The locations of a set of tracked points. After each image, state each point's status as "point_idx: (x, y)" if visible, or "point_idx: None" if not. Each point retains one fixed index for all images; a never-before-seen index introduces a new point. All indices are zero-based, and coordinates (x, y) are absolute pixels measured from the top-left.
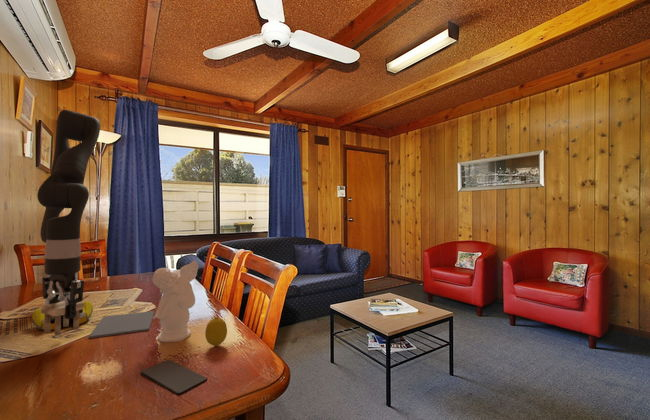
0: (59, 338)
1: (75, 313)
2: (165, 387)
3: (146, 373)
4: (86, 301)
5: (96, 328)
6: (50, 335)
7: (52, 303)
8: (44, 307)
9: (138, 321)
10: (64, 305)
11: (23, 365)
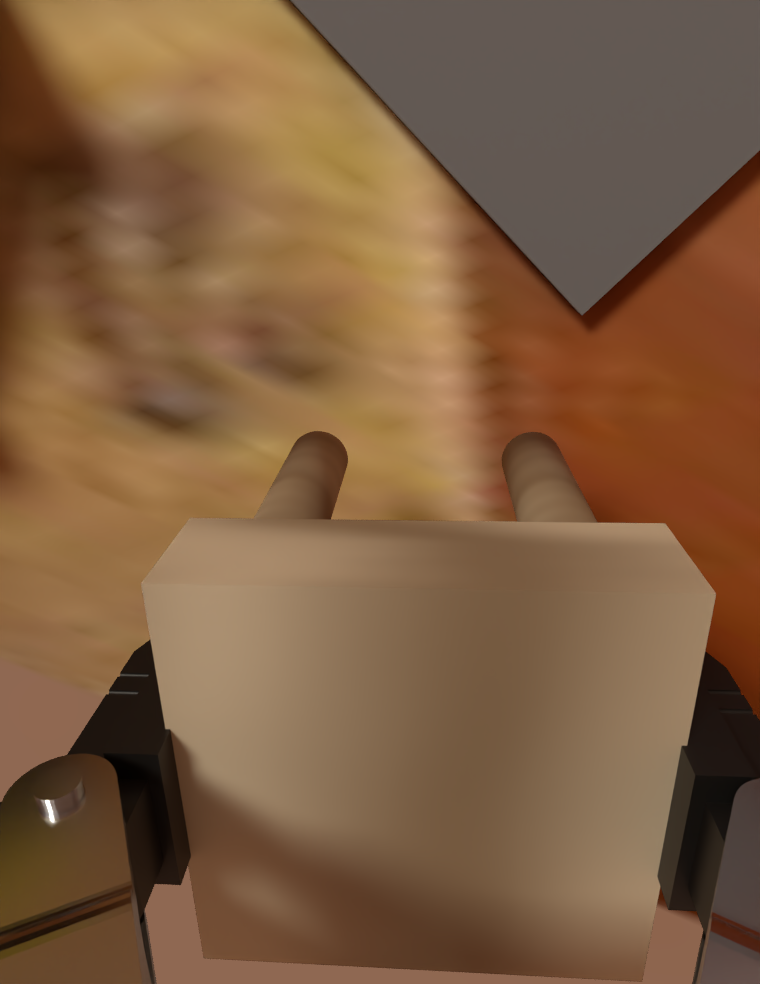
0: (267, 427)
1: (724, 675)
2: None
3: None
4: None
5: (402, 84)
6: (89, 412)
7: (181, 833)
8: (300, 954)
9: None
10: (528, 826)
11: None
